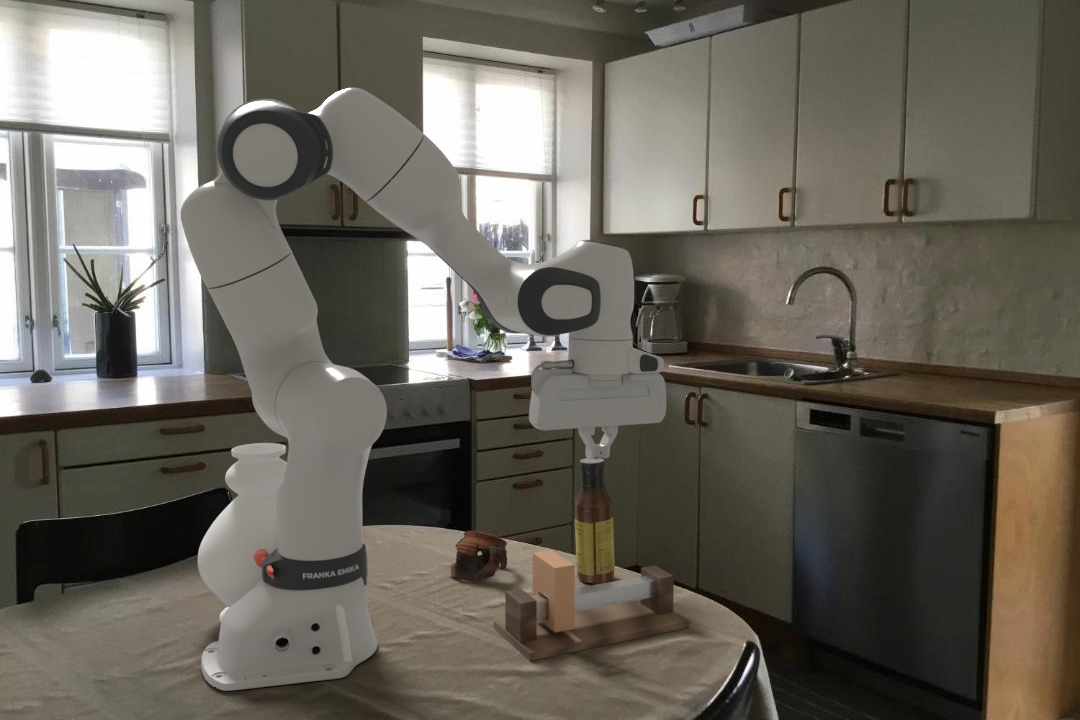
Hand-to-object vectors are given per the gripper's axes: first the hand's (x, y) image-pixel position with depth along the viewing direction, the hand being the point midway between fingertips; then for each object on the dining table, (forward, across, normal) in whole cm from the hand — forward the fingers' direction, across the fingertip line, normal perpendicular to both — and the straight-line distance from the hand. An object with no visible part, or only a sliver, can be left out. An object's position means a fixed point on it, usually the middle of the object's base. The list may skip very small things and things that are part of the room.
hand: (597, 457), depth 130 cm
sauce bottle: (+24, +10, +17) cm, 31 cm away
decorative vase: (+26, -41, +25) cm, 55 cm away
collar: (+23, -6, 0) cm, 24 cm away
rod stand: (+24, 0, 0) cm, 25 cm away
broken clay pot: (+25, -6, +27) cm, 37 cm away
